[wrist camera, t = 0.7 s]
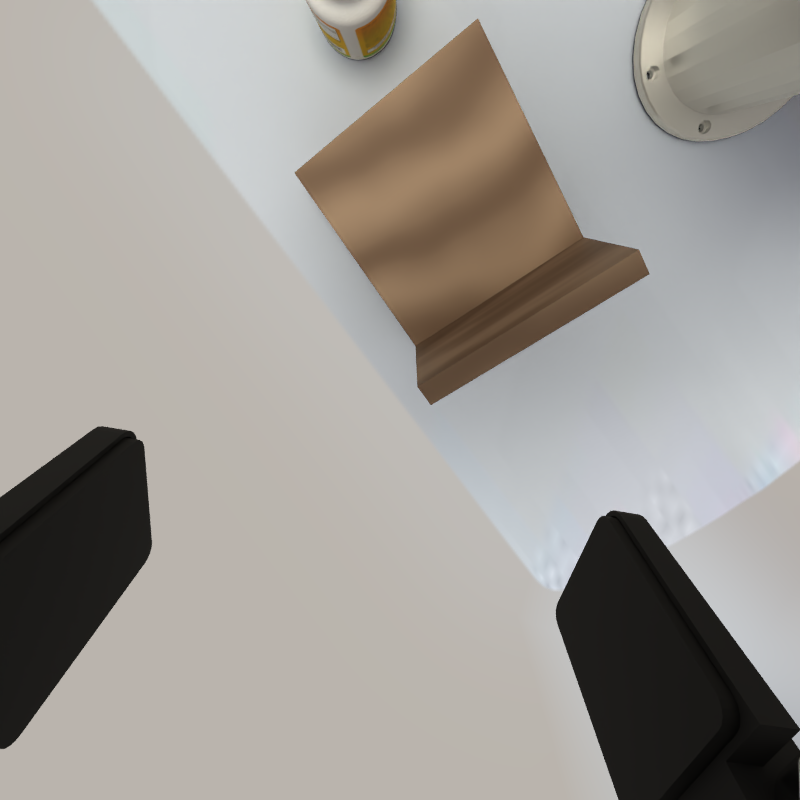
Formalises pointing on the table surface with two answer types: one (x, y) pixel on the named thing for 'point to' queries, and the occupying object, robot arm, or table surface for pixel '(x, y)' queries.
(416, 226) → the shelf stand
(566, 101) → the table surface
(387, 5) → the supplement bottle
